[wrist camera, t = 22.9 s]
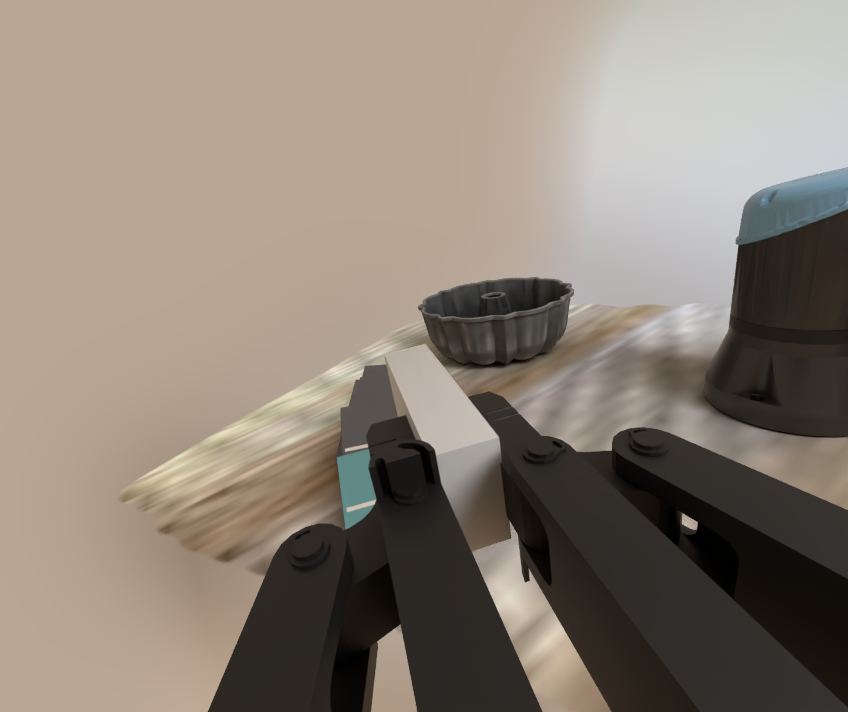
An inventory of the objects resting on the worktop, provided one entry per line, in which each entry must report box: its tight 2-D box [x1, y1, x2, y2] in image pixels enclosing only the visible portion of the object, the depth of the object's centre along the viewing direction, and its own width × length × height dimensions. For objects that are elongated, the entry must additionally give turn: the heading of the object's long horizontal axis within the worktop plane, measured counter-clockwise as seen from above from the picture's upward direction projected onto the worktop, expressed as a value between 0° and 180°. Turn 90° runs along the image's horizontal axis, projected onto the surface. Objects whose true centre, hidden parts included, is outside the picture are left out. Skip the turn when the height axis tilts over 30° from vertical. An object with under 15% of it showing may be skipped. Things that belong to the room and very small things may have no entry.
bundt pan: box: [418, 277, 574, 365], centre depth 73 cm, size 26×26×10 cm
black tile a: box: [341, 398, 397, 456], centre depth 43 cm, size 6×2×12 cm
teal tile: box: [337, 449, 376, 529], centre depth 35 cm, size 6×2×12 cm
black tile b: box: [336, 378, 398, 461], centre depth 49 cm, size 6×2×12 cm
